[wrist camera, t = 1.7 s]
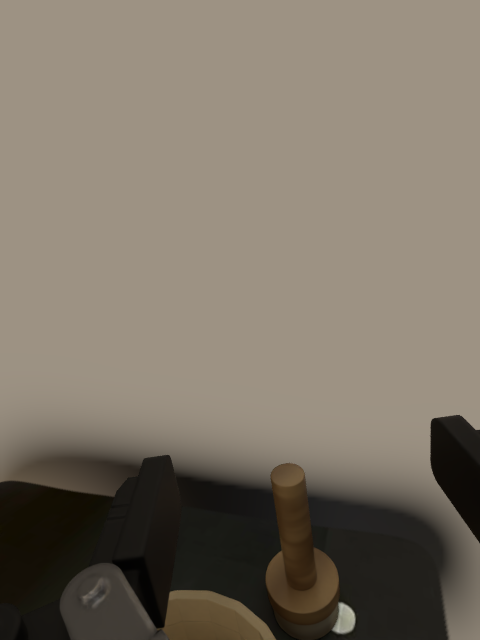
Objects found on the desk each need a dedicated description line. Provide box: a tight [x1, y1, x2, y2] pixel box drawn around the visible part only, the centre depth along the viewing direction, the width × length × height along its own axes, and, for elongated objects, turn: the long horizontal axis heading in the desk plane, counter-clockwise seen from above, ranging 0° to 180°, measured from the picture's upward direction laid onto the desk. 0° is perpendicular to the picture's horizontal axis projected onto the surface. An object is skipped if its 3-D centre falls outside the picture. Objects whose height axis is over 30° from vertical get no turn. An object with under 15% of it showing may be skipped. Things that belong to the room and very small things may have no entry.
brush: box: [266, 463, 340, 640], centre depth 28 cm, size 5×5×12 cm
